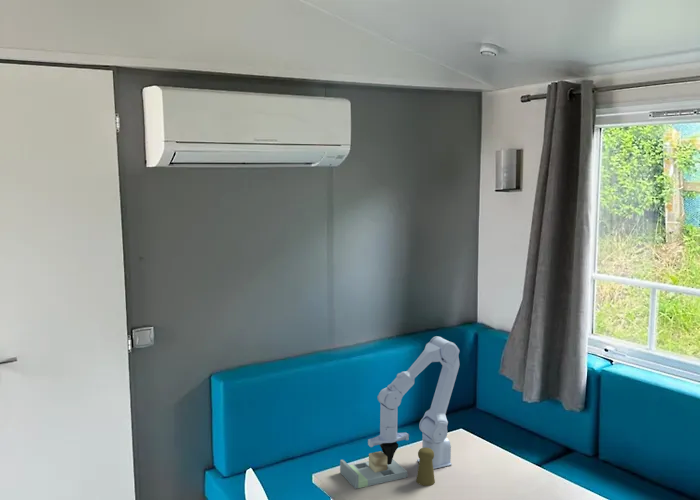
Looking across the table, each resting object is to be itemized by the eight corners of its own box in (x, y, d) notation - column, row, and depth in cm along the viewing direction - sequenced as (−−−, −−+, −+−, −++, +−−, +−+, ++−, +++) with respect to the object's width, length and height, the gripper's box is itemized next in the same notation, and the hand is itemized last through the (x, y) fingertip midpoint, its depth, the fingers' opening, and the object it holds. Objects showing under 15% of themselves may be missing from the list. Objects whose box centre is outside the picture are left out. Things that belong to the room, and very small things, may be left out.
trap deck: (389, 462, 215) (390, 449, 215) (407, 477, 204) (407, 464, 204) (340, 472, 207) (340, 460, 207) (355, 488, 196) (355, 475, 196)
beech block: (380, 464, 209) (381, 451, 209) (387, 469, 205) (387, 456, 205) (368, 466, 207) (368, 453, 207) (375, 472, 203) (375, 459, 203)
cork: (434, 486, 198) (434, 454, 197) (415, 484, 199) (415, 452, 198) (435, 478, 204) (436, 446, 203) (417, 476, 205) (417, 444, 204)
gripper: (401, 416, 213) (401, 454, 214) (364, 423, 207) (363, 462, 208) (412, 424, 207) (411, 462, 208) (373, 431, 201) (373, 471, 202)
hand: (388, 463), depth 208 cm, fingers closed
